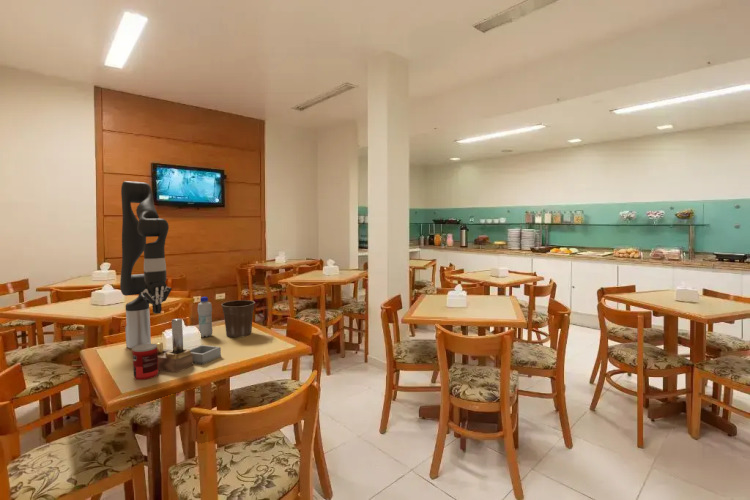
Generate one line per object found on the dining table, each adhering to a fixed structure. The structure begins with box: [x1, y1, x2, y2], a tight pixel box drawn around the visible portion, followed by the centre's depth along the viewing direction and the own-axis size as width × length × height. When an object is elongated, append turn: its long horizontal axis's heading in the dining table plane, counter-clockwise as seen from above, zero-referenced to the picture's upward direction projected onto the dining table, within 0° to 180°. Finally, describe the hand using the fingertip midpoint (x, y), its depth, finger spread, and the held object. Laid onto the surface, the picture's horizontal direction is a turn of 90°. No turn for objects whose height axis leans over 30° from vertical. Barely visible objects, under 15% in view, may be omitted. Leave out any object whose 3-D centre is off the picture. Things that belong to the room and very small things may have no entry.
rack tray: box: [190, 344, 222, 365], centre depth 159 cm, size 10×10×4 cm
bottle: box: [197, 296, 213, 338], centre depth 192 cm, size 7×7×20 cm
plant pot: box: [220, 299, 256, 338], centre depth 195 cm, size 16×16×16 cm
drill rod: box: [171, 318, 184, 354], centre depth 149 cm, size 4×4×14 cm
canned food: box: [132, 343, 159, 381], centre depth 142 cm, size 8×8×11 cm
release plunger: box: [154, 341, 164, 355], centre depth 153 cm, size 3×3×6 cm
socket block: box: [158, 348, 194, 374], centre depth 151 cm, size 16×8×6 cm, turn 70°
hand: (157, 313), depth 152 cm, fingers closed
